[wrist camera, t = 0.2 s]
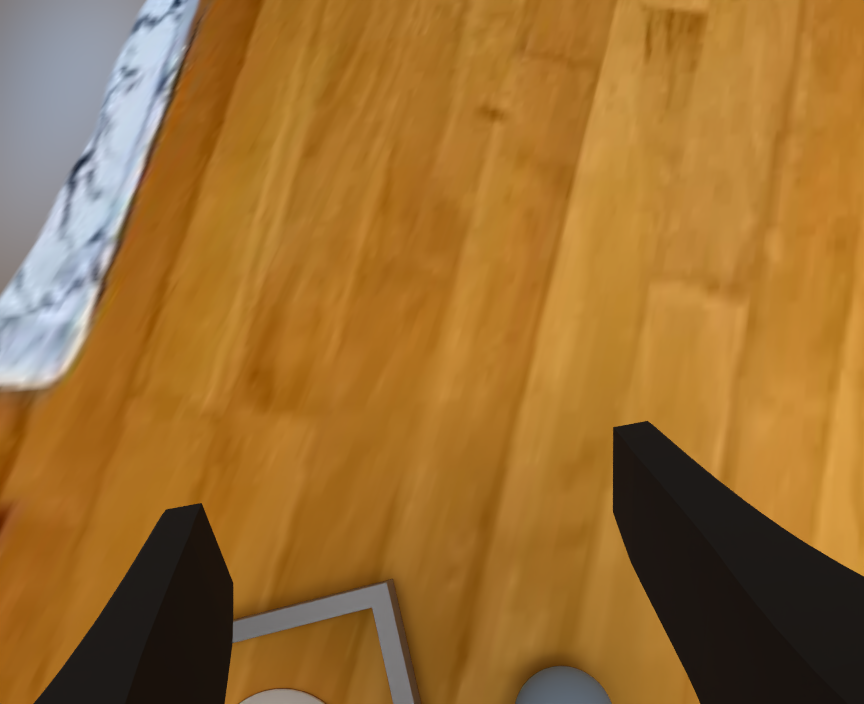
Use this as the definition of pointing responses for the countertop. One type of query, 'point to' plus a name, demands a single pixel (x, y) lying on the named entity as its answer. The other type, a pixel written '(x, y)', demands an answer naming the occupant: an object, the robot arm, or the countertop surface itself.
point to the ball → (562, 688)
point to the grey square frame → (345, 602)
